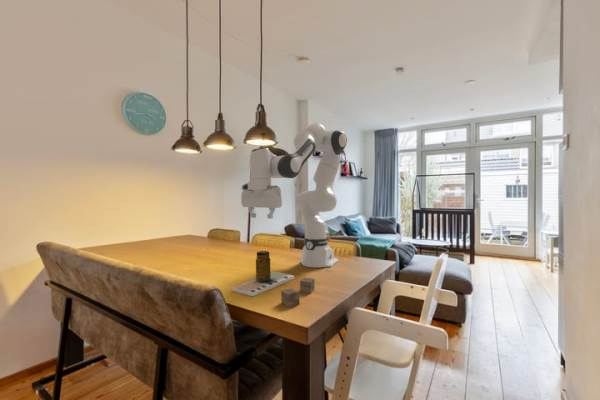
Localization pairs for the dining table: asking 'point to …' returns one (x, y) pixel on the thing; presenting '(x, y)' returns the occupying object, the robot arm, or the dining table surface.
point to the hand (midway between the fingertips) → (261, 218)
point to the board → (262, 284)
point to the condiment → (263, 268)
